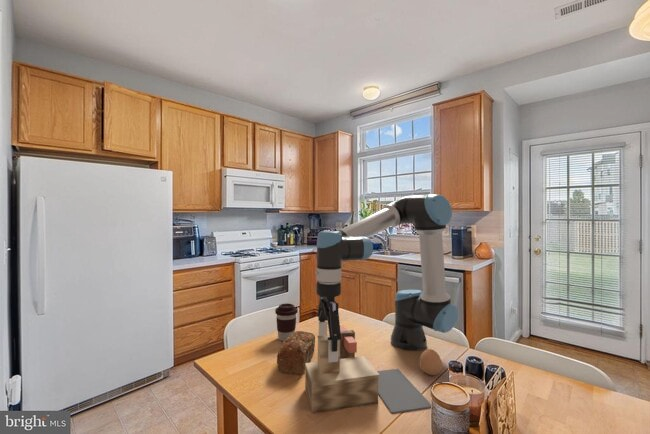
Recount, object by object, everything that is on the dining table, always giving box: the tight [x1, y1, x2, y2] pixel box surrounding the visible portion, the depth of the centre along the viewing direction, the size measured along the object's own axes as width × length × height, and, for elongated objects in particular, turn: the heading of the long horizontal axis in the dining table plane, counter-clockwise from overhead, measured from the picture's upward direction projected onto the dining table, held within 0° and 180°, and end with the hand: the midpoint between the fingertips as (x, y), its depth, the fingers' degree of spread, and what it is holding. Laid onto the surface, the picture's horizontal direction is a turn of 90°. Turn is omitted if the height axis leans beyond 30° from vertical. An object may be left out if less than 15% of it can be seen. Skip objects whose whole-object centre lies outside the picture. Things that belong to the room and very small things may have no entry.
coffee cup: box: [274, 303, 298, 342], centre depth 137 cm, size 10×10×15 cm
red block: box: [340, 324, 358, 354], centre depth 110 cm, size 3×16×4 cm, turn 13°
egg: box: [419, 348, 443, 376], centre depth 107 cm, size 7×7×8 cm
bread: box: [276, 330, 316, 376], centre depth 115 cm, size 19×11×10 cm, turn 169°
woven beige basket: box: [304, 329, 379, 414], centre depth 98 cm, size 20×22×14 cm
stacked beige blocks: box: [305, 334, 379, 387], centre depth 93 cm, size 20×12×11 cm, turn 105°
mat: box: [376, 368, 432, 414], centre depth 98 cm, size 13×22×1 cm, turn 13°
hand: (327, 351), depth 92 cm, fingers open, 13 cm apart
